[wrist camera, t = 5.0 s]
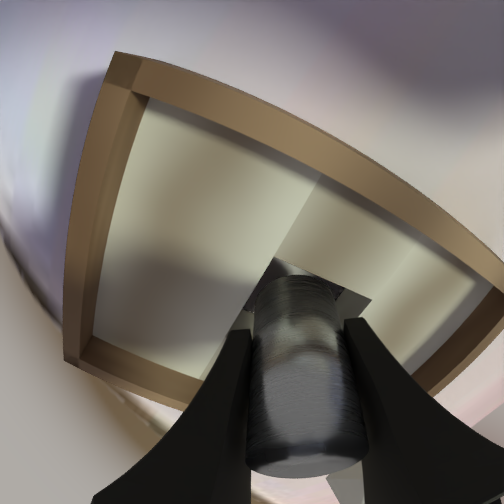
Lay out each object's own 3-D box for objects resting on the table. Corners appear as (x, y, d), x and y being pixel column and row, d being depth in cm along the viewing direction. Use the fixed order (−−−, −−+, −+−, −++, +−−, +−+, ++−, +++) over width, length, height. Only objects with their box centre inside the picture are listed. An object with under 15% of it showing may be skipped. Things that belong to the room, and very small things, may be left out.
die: (305, 448, 22) (337, 528, 17) (341, 459, 15) (378, 559, 10) (383, 411, 24) (410, 487, 19) (437, 402, 16) (465, 498, 12)
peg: (329, 267, 10) (372, 423, 5) (337, 328, 12) (366, 467, 6) (245, 284, 11) (228, 442, 5) (264, 342, 12) (261, 482, 7)
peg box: (491, 250, 11) (532, 293, 8) (353, 400, 17) (362, 447, 14) (162, 61, 8) (115, 51, 5) (93, 311, 14) (63, 360, 11)
